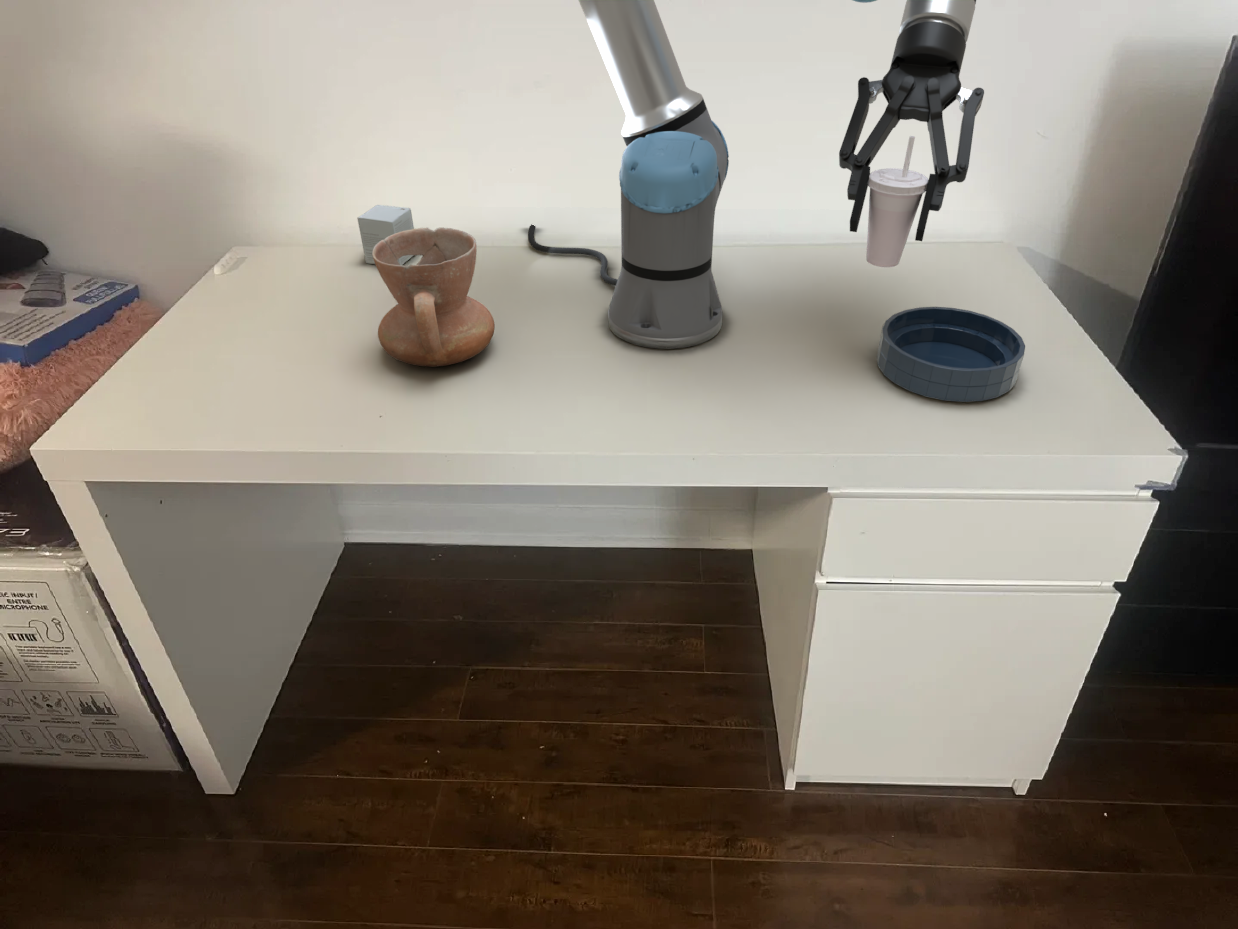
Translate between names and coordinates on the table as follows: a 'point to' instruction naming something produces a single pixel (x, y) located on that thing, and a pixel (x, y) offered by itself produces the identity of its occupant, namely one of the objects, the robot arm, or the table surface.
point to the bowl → (950, 353)
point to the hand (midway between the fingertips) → (886, 230)
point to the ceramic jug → (432, 298)
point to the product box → (383, 227)
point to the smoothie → (892, 210)
